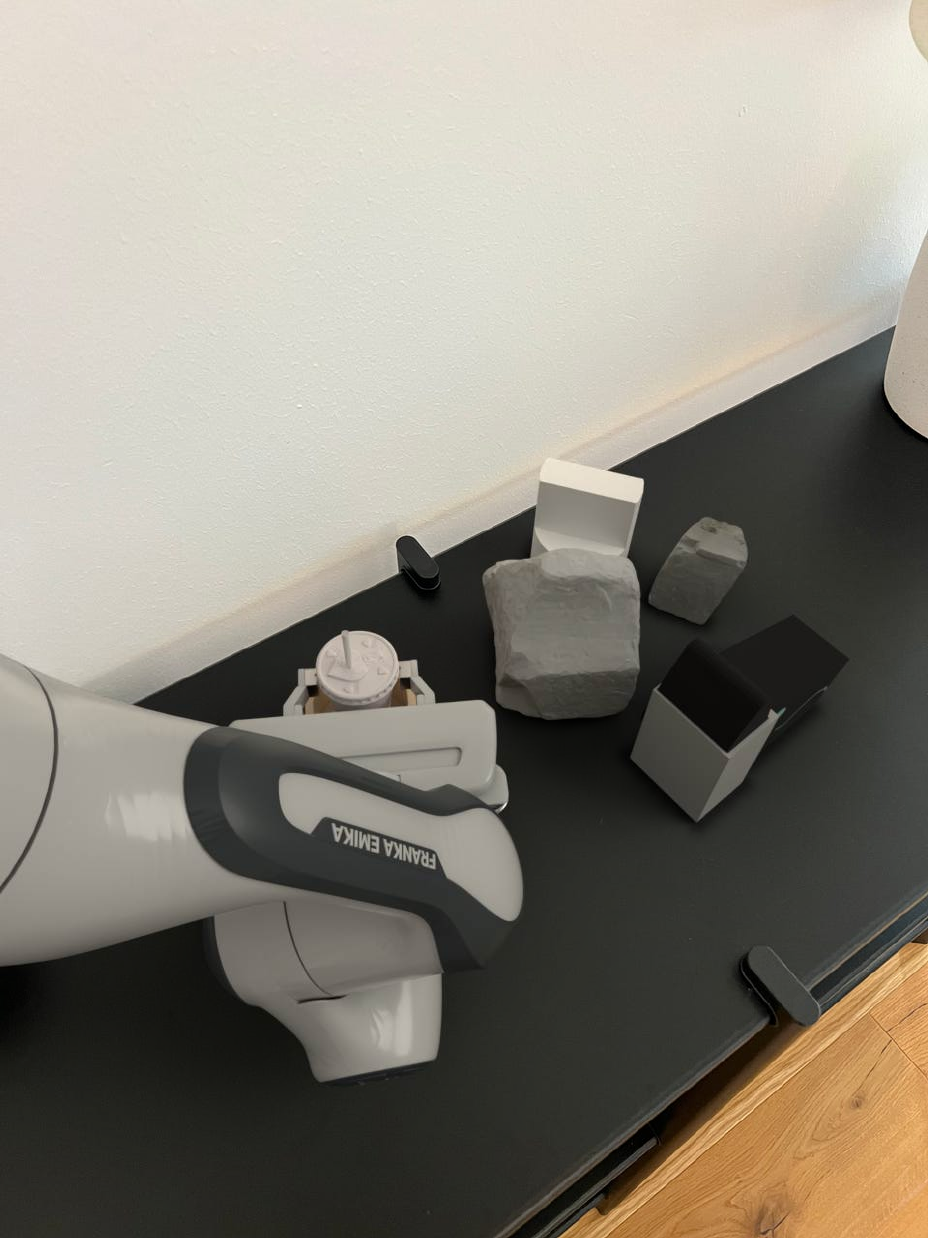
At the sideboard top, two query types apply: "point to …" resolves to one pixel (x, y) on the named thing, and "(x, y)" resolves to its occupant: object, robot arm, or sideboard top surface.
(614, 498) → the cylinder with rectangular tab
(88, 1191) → the sideboard top surface
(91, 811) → the robot arm
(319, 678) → the smoothie
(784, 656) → the decorative object
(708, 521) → the mineral specimen
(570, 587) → the stone
